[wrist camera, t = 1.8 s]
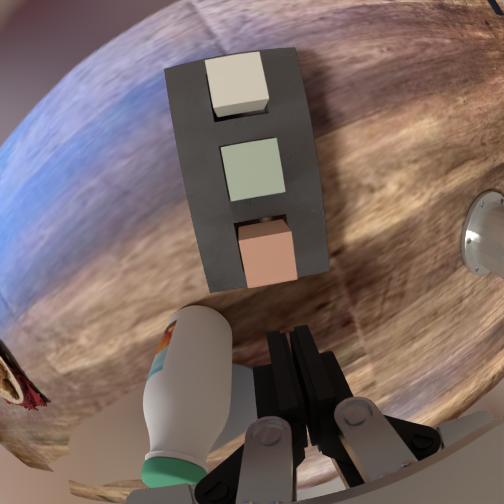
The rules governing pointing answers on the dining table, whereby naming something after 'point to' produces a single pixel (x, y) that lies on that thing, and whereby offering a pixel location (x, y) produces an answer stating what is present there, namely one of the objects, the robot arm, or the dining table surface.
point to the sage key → (253, 169)
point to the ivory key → (237, 83)
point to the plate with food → (17, 387)
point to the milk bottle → (187, 396)
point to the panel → (213, 173)
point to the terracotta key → (267, 253)
